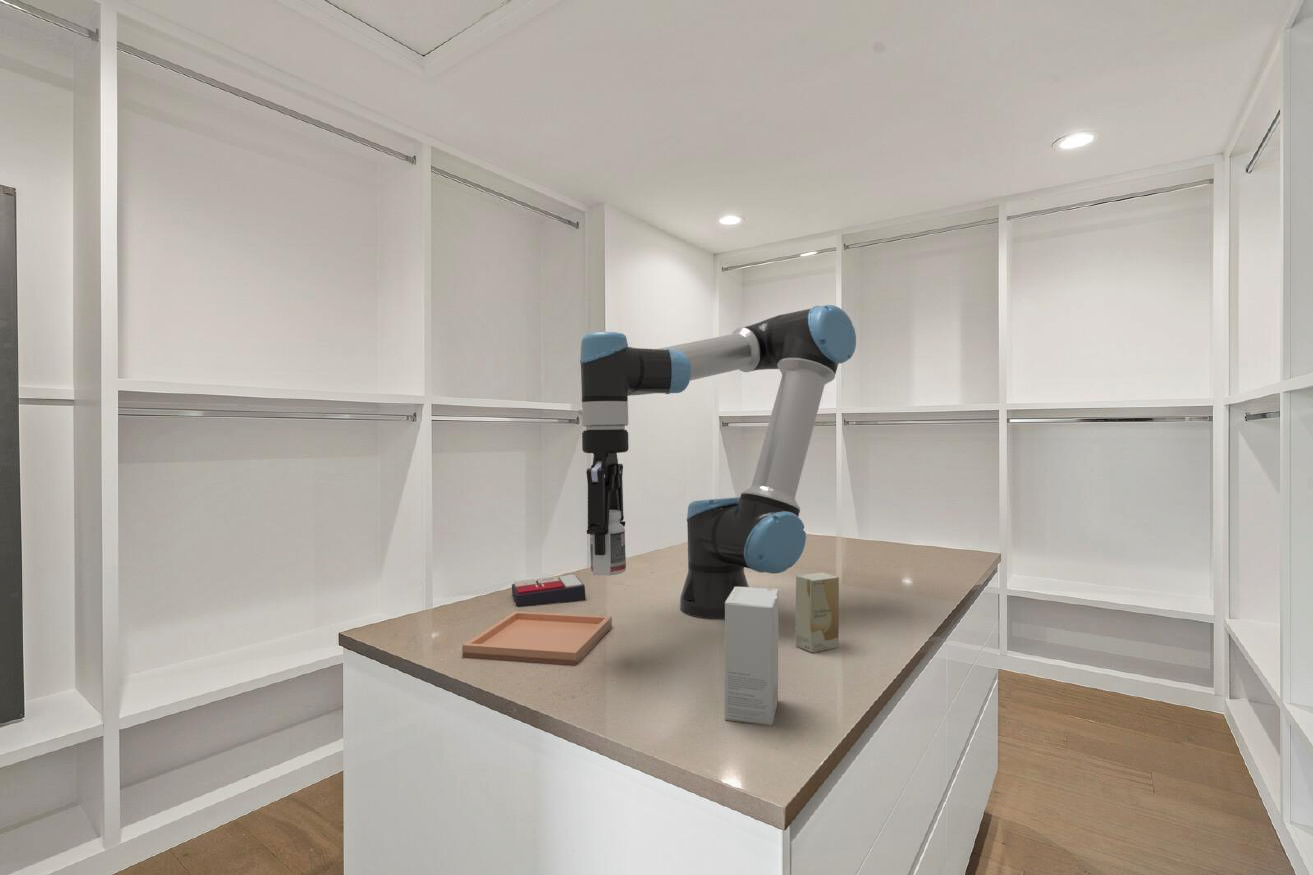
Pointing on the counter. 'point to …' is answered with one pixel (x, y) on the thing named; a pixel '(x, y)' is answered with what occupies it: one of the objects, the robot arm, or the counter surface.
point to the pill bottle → (614, 543)
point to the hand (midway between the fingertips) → (607, 570)
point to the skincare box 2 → (817, 611)
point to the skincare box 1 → (751, 655)
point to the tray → (539, 638)
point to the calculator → (548, 591)
